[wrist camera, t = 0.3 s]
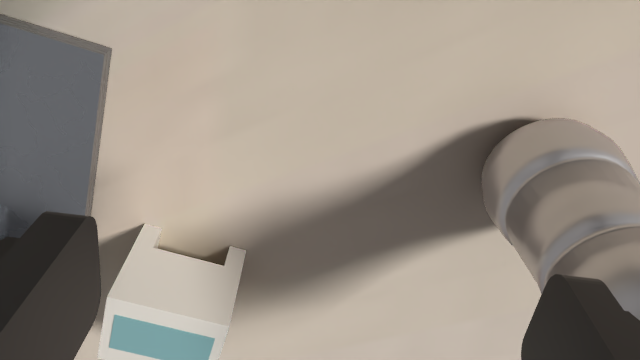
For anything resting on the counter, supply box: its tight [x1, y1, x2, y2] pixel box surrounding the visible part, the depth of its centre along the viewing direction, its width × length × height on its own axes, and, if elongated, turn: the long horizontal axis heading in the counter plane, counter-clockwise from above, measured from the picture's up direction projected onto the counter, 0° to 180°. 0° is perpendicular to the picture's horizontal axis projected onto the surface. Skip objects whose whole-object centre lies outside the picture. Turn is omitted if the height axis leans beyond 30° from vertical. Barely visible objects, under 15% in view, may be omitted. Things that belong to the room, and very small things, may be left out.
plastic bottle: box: [481, 118, 640, 320], centre depth 20 cm, size 6×7×20 cm
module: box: [97, 224, 246, 360], centre depth 30 cm, size 4×6×6 cm
